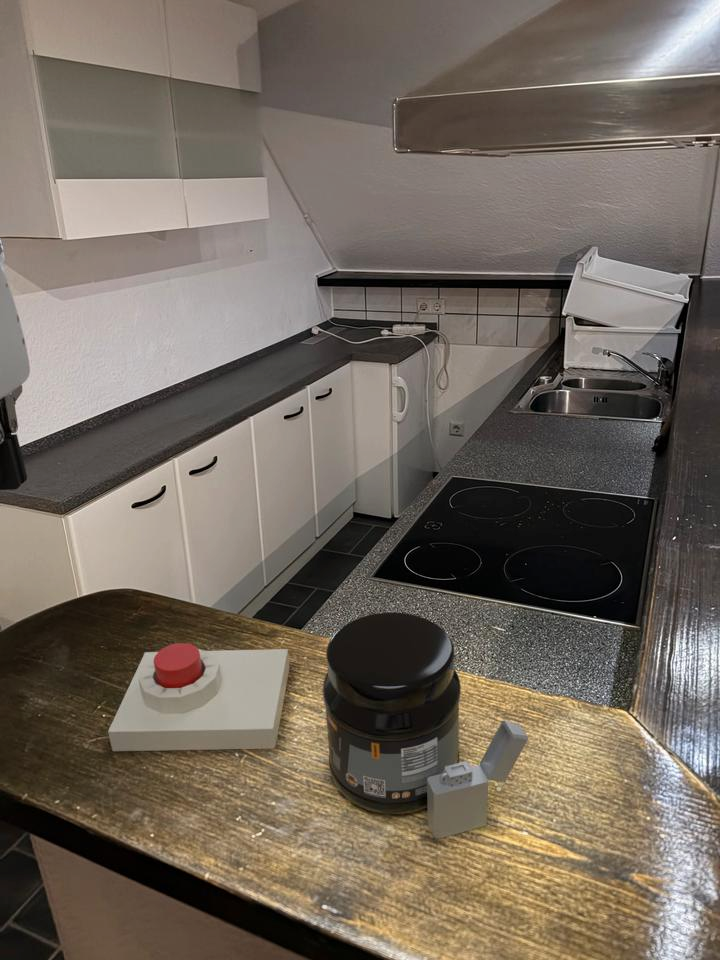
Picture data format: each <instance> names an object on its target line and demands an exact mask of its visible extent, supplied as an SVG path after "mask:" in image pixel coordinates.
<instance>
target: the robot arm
mask: <svg viewBox="0 0 720 960" xmlns="http://www.w3.org/2000/svg"><path fill="white" fill-rule="evenodd" d="M5 261H6V257H5V253H4V248H3V245H2V240H1V239H0V491H12V490H13V491H14V490H18V489H19V488H20V487H21V486H22V484H24V483H25V482H27V480H28V475H27V469H26V466H25V462H24V457H23V454H22V450H21V446H20V441H19V438H18V434H16V433H17V432H18V430H19V424H18V417H17V412H16V404H17V401H18V399H19V397H20V396H21V395H22V393H23V384H24V383H26V381H27V380H28V378H29V376H30V373H31V369H30V368H31V367H30V360H29V354H28V348H27V344H26V339H25V336H24V331H23V328H22V324H21V320H20V316H19V313H18V309H17V306H16V303H15V299H14V296H13V293H12V290H11V287H10V284H9V281H8V278H7V275H6V271H5V270H4V267H3V264H2V263H3V262H5Z"/></svg>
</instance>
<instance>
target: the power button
mask: <svg viewBox="0 0 720 960" xmlns="http://www.w3.org/2000/svg"><path fill="white" fill-rule="evenodd" d="M198 649H199V648H198V647H197V646H195V645H194V644H191V643H187V642H186V643H185V642H182V643H181V642H180V643H173V644H170V645H167V646H165V647H164V648H161V649H160V650H159V651H157V652H158V653H157V654H156V656H155V658H154V667H155V672H156V677H157V681H158V683H159V685H160V686H162V687H164V688H182V687H185V686H188V685H190V684H193V683H195V682H196V681H197V680H198V679H199V678H200V677H201V675H202V665H201V659H200V653H199V650H198Z"/></svg>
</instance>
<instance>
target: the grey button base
mask: <svg viewBox="0 0 720 960" xmlns="http://www.w3.org/2000/svg"><path fill="white" fill-rule="evenodd" d="M198 650H199V653H200V659H201V665H202V675H201V677H200V678H199V679H198V680H197V681H196V682H195V683H193V684H190V685H188V686H185V687H182V688H164V687H162V686H160V685H159V683H158V681H157V677H156V672H155V667H154V658H155V656H156V654H157V653H158V652H159V651H145V652H144V653H143V656H142V658H141V660H140V662H139V665H138V667H137V668H136V671H135V672H134V675H133V677H132V680H131V681H130V684H129V686H128V688H127V690H126V692H125V694H124V697H123V698H122V701H121V703H120V705H119V707H118V709H117V712H116V713H115V715H114V718H113V720H112V722H111V723H110V726H109V728H108V731H107V734H108V737H109V742H110V746H111V751H112V752H154V751H155V752H157V751H159V752H161V751H162V752H163V751H164V752H165V751H215V750H219V751H221V750H223V751H224V750H271V749H272V750H275V749H276V747H277V742H278V736H279V729H280V723H281V720H282V719H281V718H282V714H283V713H282V712H283V707H284V701H285V695H286V690H287V685H288V680H289V673H290V667H291V666H290V657H289V649H288V648H276V649H274V648H273V649H271V648H270V649H232V650H231V649H230V650H229V649H226V650H204V649H202V648H201V649H200V648H198Z"/></svg>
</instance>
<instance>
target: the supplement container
mask: <svg viewBox="0 0 720 960" xmlns="http://www.w3.org/2000/svg"><path fill="white" fill-rule="evenodd" d="M326 668H327V669H326V670H327V672H326V674H325V677H324V679H323V684H322V700H323V704H324V707H325V719H326V729H327V743H328V767H329V772H330V776H331V778H332V781H333V782H334V784H335V786H336V788H337V789H338V790H339V791H340V793H341V794H342V795H343V796H344V797H345V798H346V799H347V800H349V801H350V802H352V803H353V804H355V805H357V806H358V807H361V808H363V809H365V810H368V811H370V812H373V813H377V814H378V813H379V814H385V815H403V814H409V813H414V812H418V811H421V810H424V809H427V779H428V777H431V776H435V775H439V774H442V772H443V771H444V770H445V766H449V765H453V764H457V763H460V750H459V745H460V743H459V742H460V741H459V739H460V736H459V734H460V732H459V731H460V729H459V728H460V727H459V726H460V725H459V724H460V723H459V722H460V718H459V717H460V701H461V696H462V686H461V680H460V676H459V674H458V673H457V671H456V669H455V648H454V644H453V640H452V639H451V636H450V635H449V634H448V633H447V632H446V630H444V628H442V627H441V626H440V625H438V624H436V623H435V622H433V621H432V620H430V619H427V618H424V617H422V616H419V615H417V614H416V615H415V614H411V613H404V612H377V613H372V614H368V615H364V616H361V617H359V618H356V619H353V620H351V621H350V622H348V623H346V624H344V625H343V626H341V627H340V628H339V629H338V630H337V631H336V632H335V633H334V634H333V635H332V637H331V638H330V640H329V642H328V644H327V647H326Z"/></svg>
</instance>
